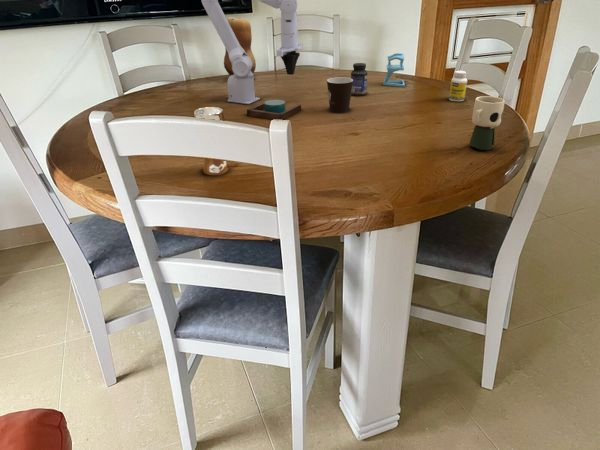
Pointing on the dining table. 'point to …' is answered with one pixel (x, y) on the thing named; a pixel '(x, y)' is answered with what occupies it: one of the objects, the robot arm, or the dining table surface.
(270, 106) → the teal puck
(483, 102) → the character mug
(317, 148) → the dining table surface
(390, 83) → the chair
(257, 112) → the walnut bay
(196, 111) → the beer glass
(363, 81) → the pill bottle
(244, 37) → the butternut squash
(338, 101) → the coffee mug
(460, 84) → the supplement bottle
